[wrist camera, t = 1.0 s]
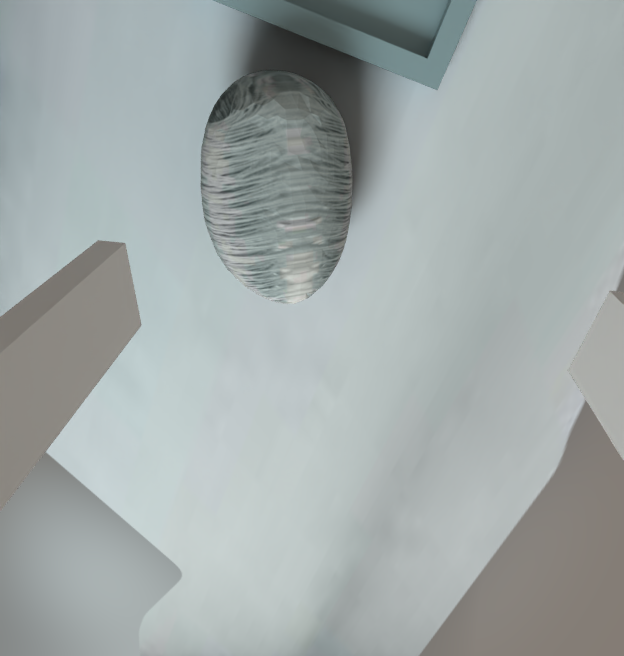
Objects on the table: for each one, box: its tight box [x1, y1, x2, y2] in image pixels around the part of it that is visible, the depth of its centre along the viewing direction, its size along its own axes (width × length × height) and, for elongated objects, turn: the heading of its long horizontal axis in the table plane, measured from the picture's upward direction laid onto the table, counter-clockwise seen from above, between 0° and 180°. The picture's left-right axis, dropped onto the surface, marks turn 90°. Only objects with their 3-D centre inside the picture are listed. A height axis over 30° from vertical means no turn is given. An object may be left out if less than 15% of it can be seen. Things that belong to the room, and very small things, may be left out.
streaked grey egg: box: [201, 70, 353, 304], centre depth 27 cm, size 14×10×10 cm
